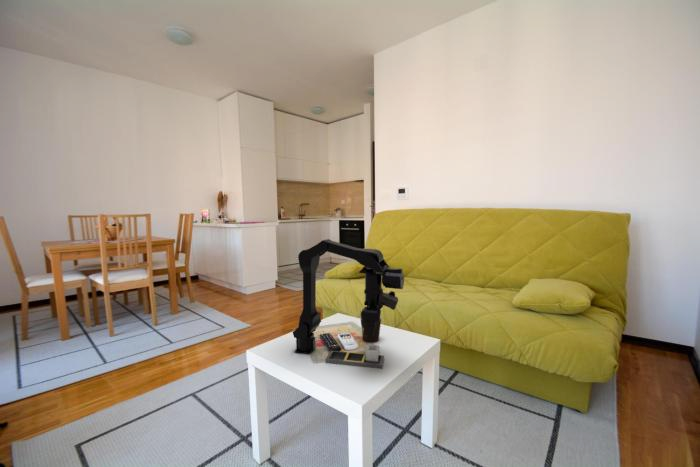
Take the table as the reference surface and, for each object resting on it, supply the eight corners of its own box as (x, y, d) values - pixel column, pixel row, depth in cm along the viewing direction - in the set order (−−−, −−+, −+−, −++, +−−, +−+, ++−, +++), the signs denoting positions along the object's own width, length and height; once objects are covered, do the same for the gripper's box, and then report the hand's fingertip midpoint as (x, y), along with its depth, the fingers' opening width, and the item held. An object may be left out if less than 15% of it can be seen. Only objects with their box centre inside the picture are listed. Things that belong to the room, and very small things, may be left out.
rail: (325, 364, 104) (325, 358, 104) (330, 355, 110) (330, 350, 110) (382, 370, 100) (382, 364, 100) (384, 360, 106) (384, 355, 106)
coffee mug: (380, 346, 117) (380, 321, 117) (358, 344, 119) (358, 320, 118) (382, 334, 129) (382, 311, 128) (363, 332, 131) (363, 310, 130)
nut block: (365, 365, 102) (365, 349, 102) (367, 359, 106) (367, 343, 106) (377, 366, 101) (377, 350, 101) (379, 360, 105) (379, 345, 105)
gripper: (395, 295, 92) (395, 343, 93) (397, 280, 110) (397, 321, 111) (360, 293, 94) (360, 340, 95) (367, 279, 112) (368, 319, 114)
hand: (373, 329), depth 104 cm, fingers open, 9 cm apart
